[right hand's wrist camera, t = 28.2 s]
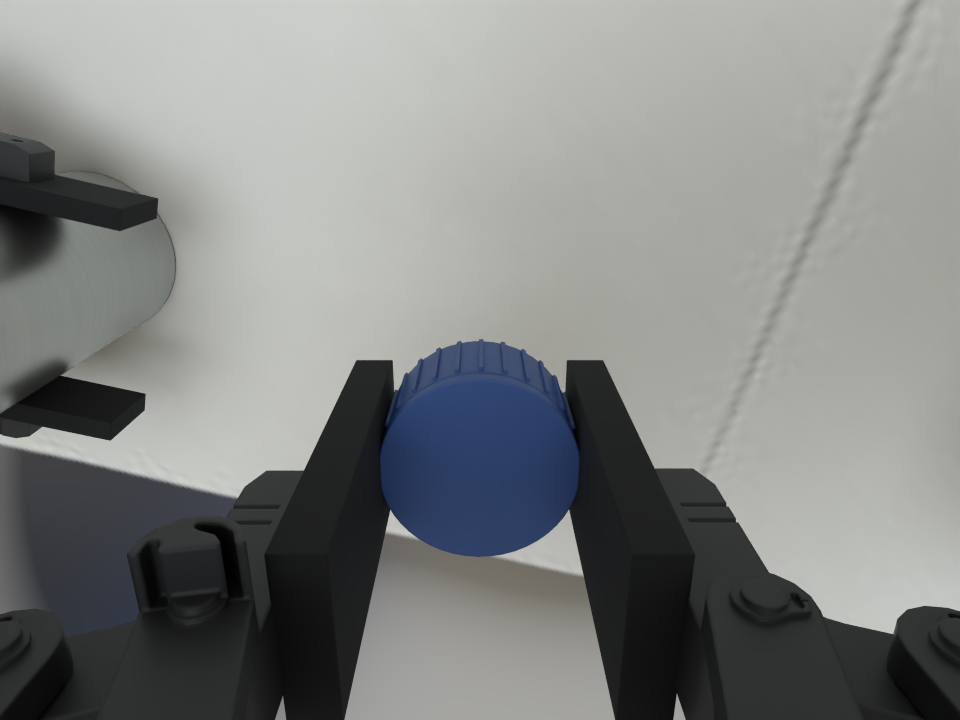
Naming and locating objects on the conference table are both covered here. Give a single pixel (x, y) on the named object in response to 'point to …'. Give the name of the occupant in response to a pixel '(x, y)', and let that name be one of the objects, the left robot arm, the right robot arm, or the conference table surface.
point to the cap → (479, 450)
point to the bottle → (72, 289)
